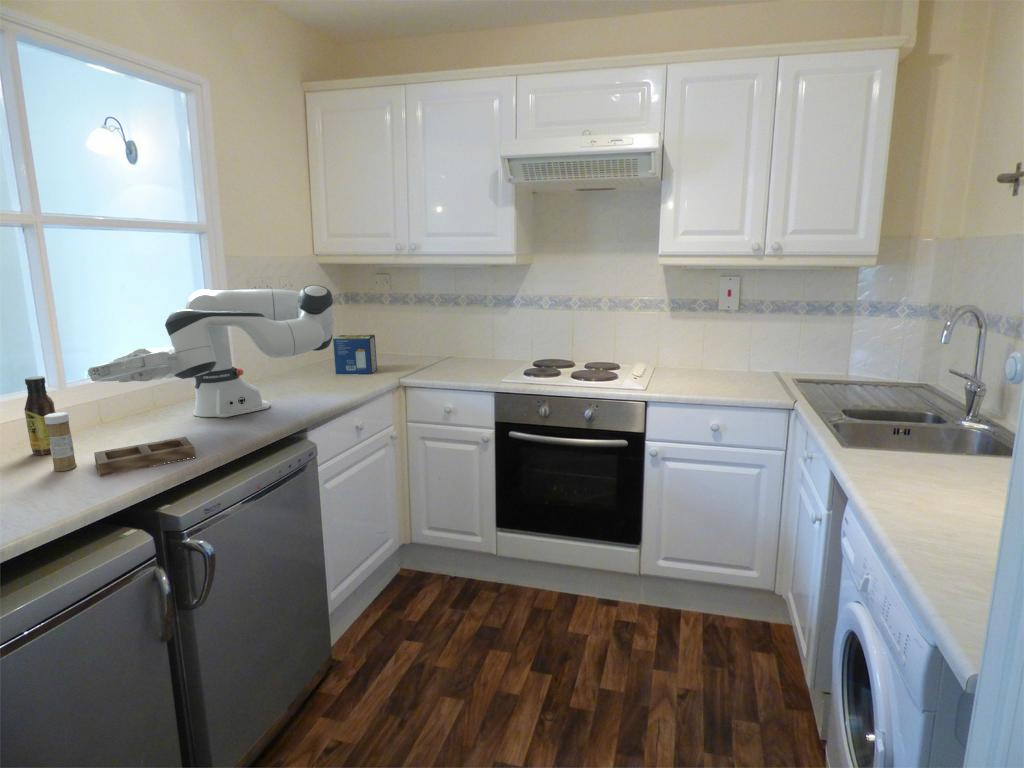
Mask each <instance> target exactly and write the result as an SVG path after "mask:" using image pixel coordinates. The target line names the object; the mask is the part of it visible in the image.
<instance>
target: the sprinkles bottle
mask: <svg viewBox="0 0 1024 768" xmlns="http://www.w3.org/2000/svg"><path fill="white" fill-rule="evenodd" d="M44 419H45V424H46V426H47V430H48V436H49V442H50V450H51V458H52V463H53V471H55V472H65V471H70V470H73V469H75V468H76V467H77V466H78V465H77V463H76V458H75V449H74V443H73V437H72V433H71V429H70V428H71V427H70V418H69V413H68V412H63V411H61V412H60V411H59V412H56V413H52V414H48V415H46V416H45V417H44Z"/></svg>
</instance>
